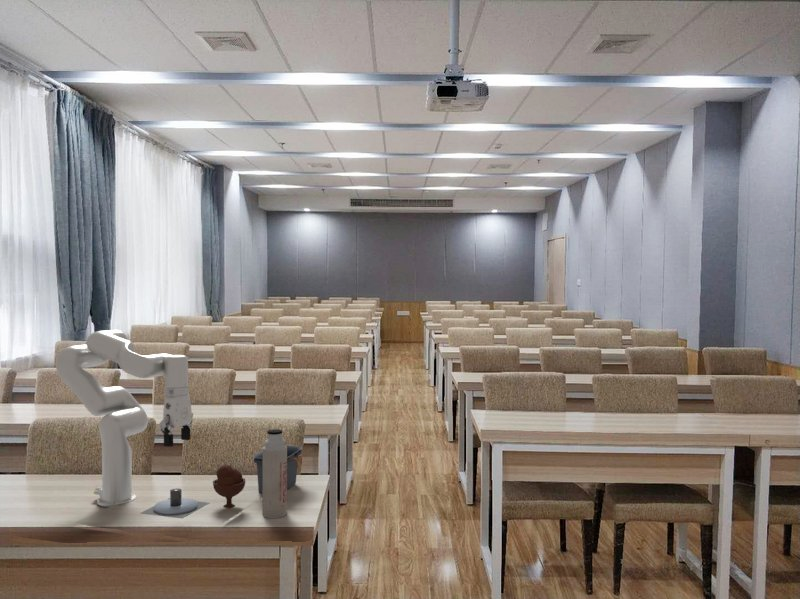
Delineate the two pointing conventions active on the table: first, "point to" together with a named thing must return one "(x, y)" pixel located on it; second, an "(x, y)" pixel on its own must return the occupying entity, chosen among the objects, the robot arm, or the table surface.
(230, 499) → the ice cream bowl
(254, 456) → the storage bin
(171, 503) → the lid
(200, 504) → the mat
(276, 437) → the thermos bottle
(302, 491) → the table surface
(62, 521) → the table surface
